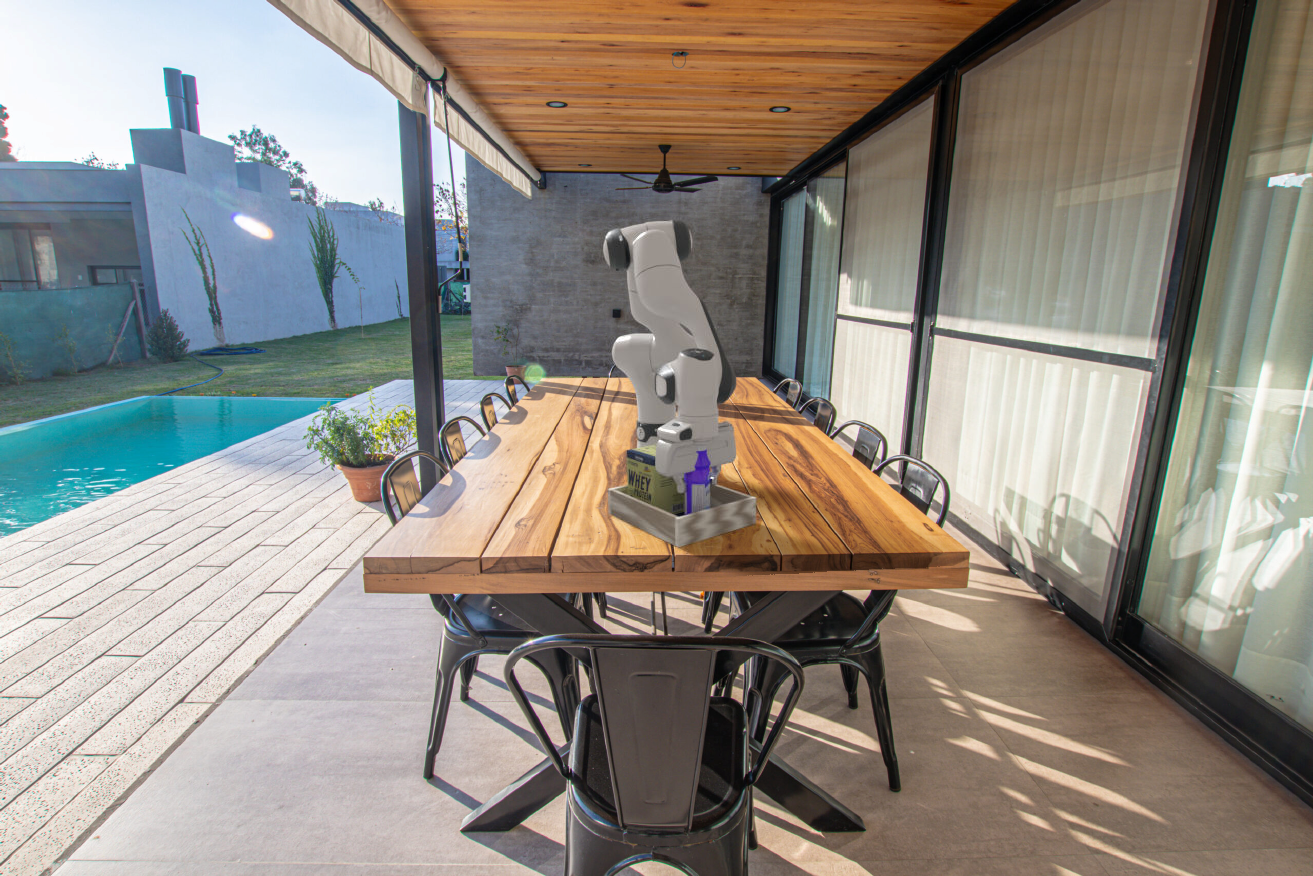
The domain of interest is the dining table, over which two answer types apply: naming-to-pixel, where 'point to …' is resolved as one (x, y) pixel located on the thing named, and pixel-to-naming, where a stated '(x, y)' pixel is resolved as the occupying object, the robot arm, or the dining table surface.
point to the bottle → (698, 483)
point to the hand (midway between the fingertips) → (697, 488)
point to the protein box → (652, 482)
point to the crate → (721, 518)
